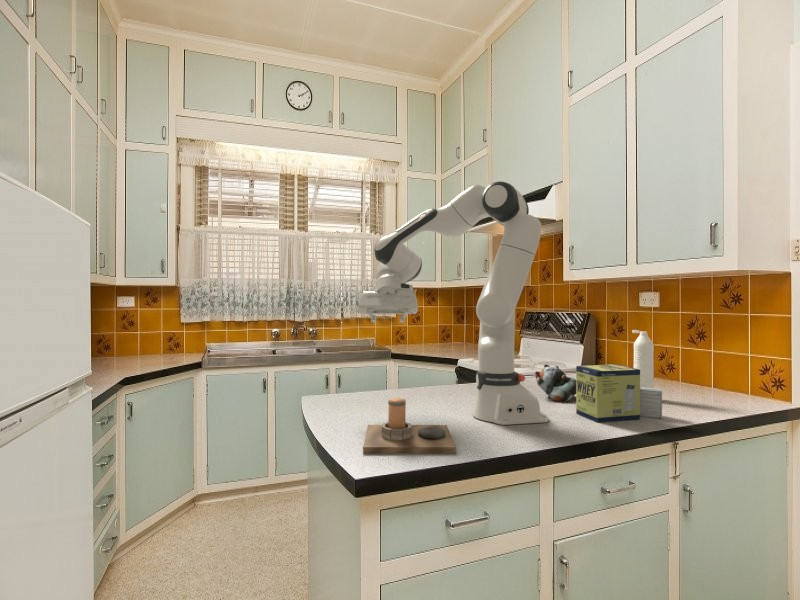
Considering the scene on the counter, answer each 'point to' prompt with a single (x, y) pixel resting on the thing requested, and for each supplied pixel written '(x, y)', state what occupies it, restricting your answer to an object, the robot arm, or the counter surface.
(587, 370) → the protein box
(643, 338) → the white pump bottle
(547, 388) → the grey stuffed animal toy
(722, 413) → the counter surface
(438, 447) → the carrier board
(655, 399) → the medicine box
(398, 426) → the hub peg
